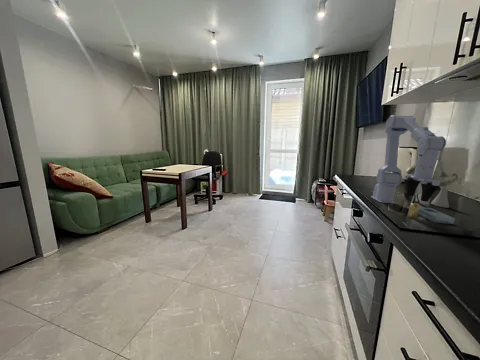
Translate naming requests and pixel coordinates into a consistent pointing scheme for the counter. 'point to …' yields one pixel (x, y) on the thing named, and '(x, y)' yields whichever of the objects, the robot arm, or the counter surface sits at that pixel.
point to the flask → (441, 198)
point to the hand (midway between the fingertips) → (416, 198)
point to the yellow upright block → (413, 210)
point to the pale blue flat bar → (435, 215)
